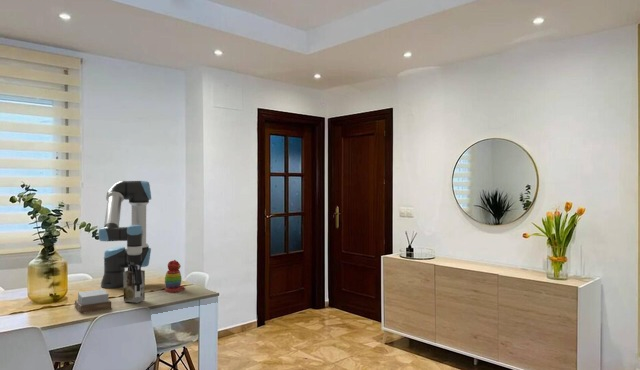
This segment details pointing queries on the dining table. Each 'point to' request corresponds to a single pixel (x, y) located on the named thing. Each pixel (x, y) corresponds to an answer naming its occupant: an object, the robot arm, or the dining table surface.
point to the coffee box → (133, 287)
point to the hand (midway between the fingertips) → (134, 294)
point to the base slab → (92, 306)
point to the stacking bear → (173, 278)
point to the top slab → (92, 297)
